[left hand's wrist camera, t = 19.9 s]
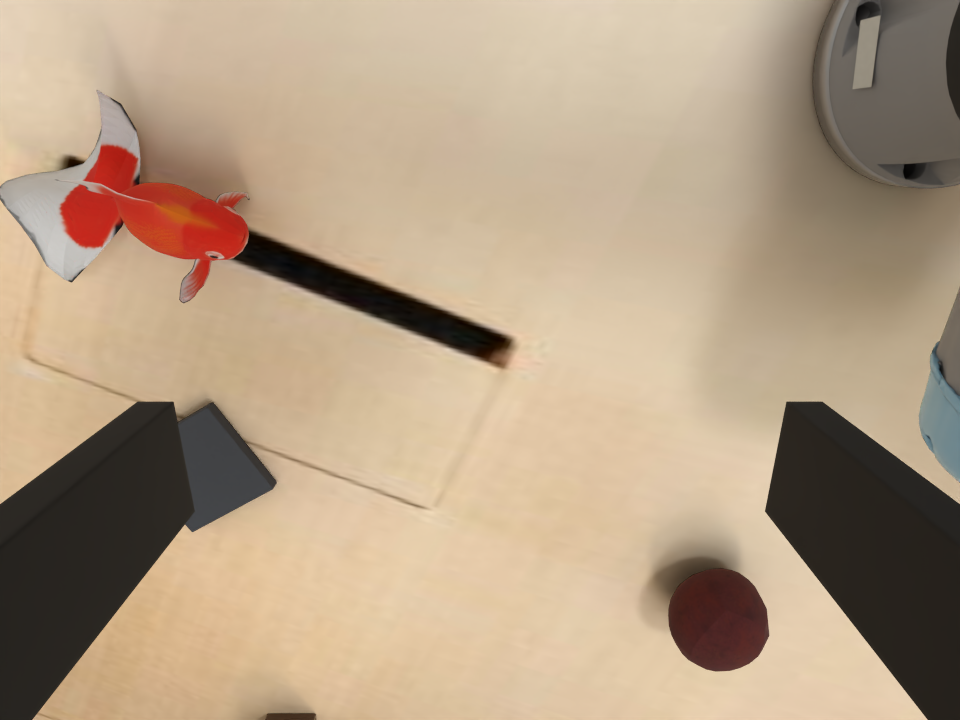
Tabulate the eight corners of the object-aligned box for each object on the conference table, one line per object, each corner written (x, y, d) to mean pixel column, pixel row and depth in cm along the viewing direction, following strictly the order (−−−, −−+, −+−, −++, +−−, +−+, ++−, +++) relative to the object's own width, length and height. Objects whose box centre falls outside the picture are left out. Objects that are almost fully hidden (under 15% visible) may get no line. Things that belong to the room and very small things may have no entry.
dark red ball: (640, 604, 50) (665, 674, 43) (691, 536, 48) (725, 599, 41) (713, 634, 51) (747, 706, 44) (765, 568, 49) (810, 635, 42)
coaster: (212, 401, 44) (207, 407, 43) (277, 482, 46) (273, 489, 45) (130, 449, 45) (123, 455, 44) (197, 525, 47) (191, 532, 46)
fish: (214, 372, 38) (83, 339, 28) (63, 252, 42) (-96, 188, 32) (310, 236, 38) (213, 157, 29) (152, 130, 42) (21, 30, 33)
